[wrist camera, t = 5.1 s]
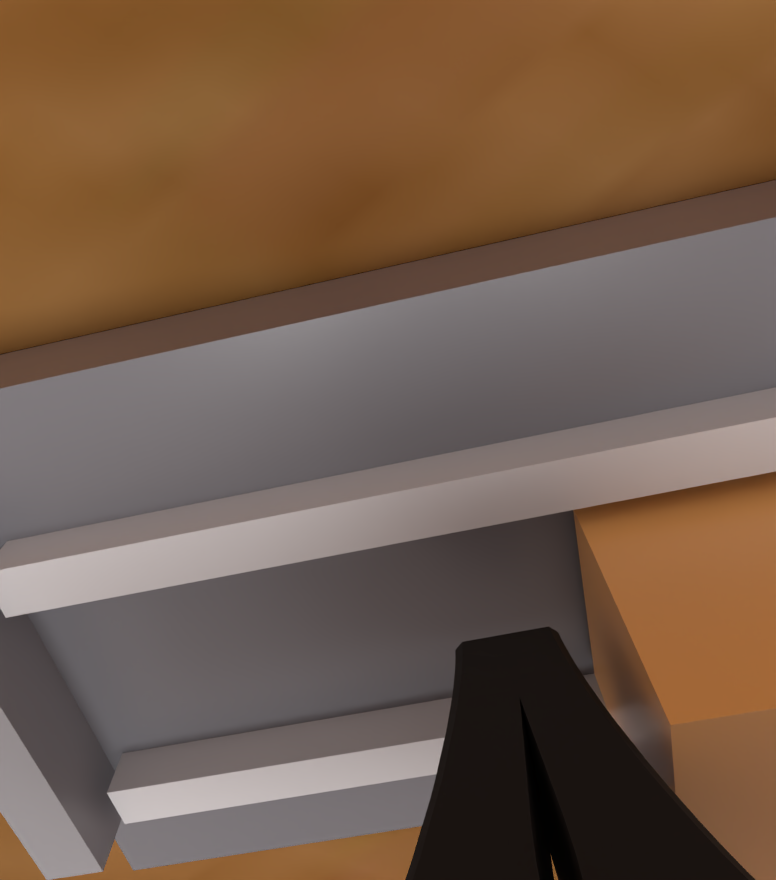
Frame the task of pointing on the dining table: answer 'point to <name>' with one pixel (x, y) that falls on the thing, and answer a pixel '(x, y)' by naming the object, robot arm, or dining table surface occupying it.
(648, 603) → the fader tab
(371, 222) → the dining table surface
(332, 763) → the grey flat railed block
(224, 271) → the dining table surface
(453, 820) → the robot arm
